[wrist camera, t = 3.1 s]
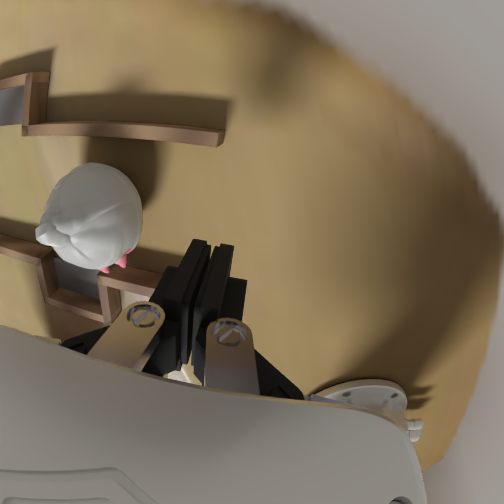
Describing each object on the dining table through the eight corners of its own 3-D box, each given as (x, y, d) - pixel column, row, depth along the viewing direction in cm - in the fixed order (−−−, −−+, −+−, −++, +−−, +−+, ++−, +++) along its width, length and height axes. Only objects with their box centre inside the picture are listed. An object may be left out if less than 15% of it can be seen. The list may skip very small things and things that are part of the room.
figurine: (107, 257, 21) (50, 319, 14) (68, 177, 19) (-7, 216, 12) (175, 232, 20) (125, 300, 13) (135, 139, 17) (56, 163, 10)
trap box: (235, 67, 15) (223, 55, 11) (200, 330, 24) (189, 365, 20) (-33, 93, 15) (-61, 99, 11) (-18, 262, 24) (-38, 279, 20)
